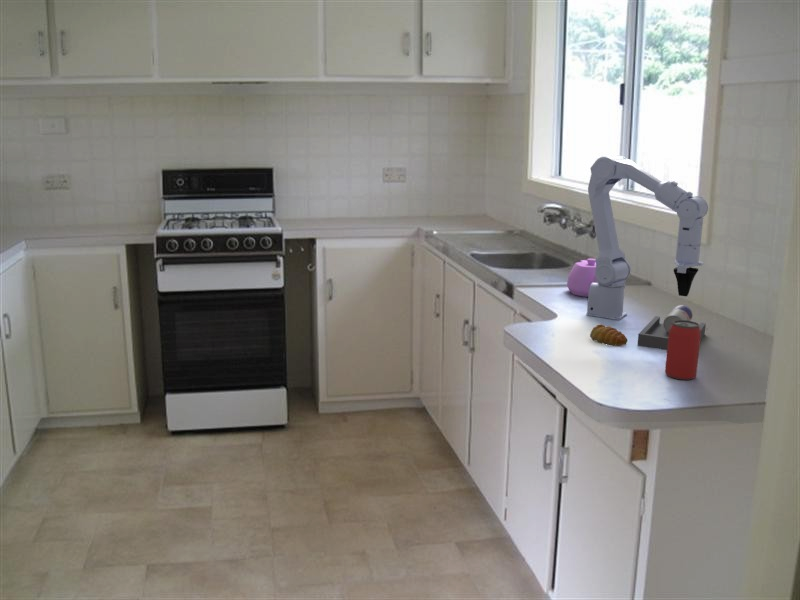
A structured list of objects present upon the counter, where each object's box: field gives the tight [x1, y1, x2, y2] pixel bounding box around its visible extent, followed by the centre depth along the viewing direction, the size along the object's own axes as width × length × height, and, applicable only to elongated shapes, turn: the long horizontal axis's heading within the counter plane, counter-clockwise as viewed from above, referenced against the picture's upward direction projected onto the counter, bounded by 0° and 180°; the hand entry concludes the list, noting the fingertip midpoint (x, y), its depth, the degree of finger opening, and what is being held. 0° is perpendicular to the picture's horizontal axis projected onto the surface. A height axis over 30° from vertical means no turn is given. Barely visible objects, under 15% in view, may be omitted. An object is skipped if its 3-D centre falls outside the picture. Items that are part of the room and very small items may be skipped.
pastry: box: [589, 324, 628, 347], centre depth 204 cm, size 9×7×4 cm
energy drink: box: [662, 304, 693, 333], centre depth 212 cm, size 5×5×12 cm
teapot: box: [566, 258, 598, 298], centre depth 254 cm, size 13×20×11 cm
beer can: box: [664, 320, 701, 381], centre depth 179 cm, size 7×7×12 cm
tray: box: [637, 316, 707, 351], centre depth 208 cm, size 13×20×3 cm, turn 152°
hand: (683, 295), depth 215 cm, fingers closed
